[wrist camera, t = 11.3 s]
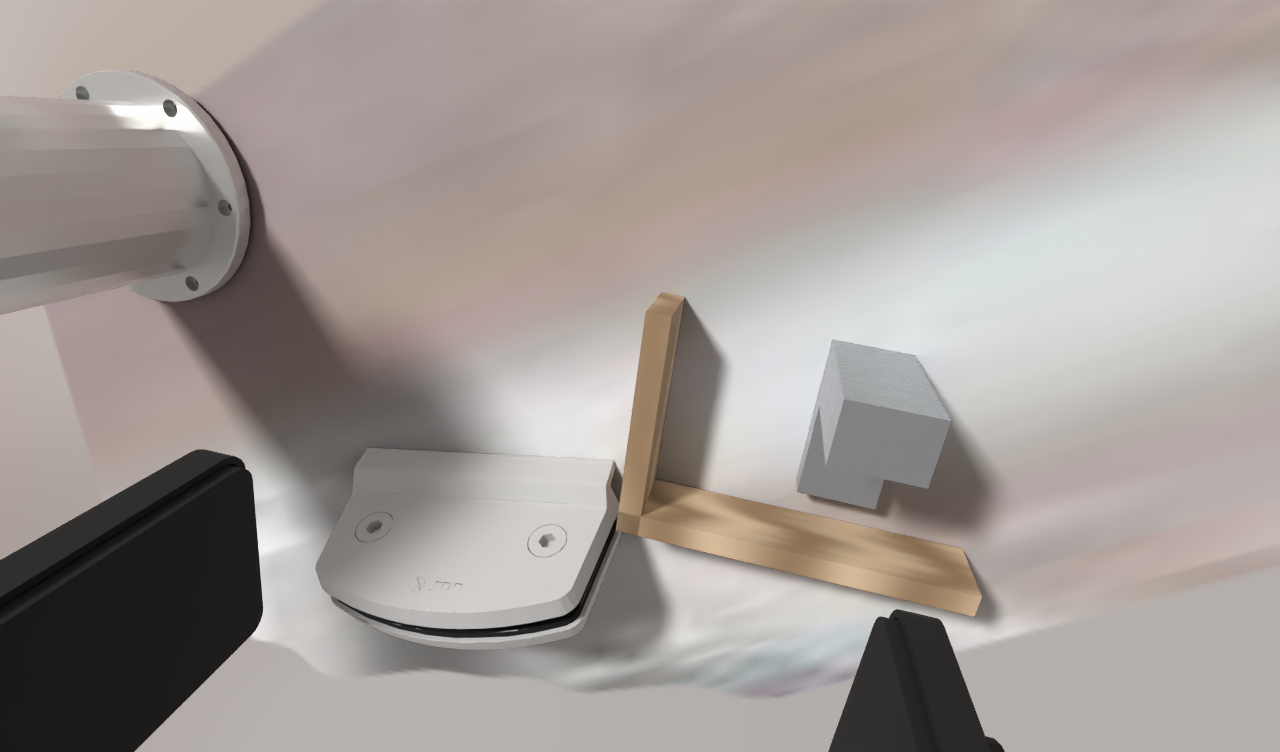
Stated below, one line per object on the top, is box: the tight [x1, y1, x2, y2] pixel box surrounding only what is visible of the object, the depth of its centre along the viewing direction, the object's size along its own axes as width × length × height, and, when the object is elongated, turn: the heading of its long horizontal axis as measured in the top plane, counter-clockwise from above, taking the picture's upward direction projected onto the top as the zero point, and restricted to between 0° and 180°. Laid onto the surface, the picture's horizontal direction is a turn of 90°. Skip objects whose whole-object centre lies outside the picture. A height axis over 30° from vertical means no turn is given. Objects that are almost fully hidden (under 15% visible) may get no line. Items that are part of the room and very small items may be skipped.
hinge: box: [316, 448, 622, 650], centre depth 37 cm, size 17×5×10 cm, turn 93°
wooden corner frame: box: [616, 293, 982, 617], centre depth 33 cm, size 18×12×4 cm, turn 83°
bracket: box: [797, 340, 951, 510], centre depth 30 cm, size 8×4×8 cm, turn 172°
